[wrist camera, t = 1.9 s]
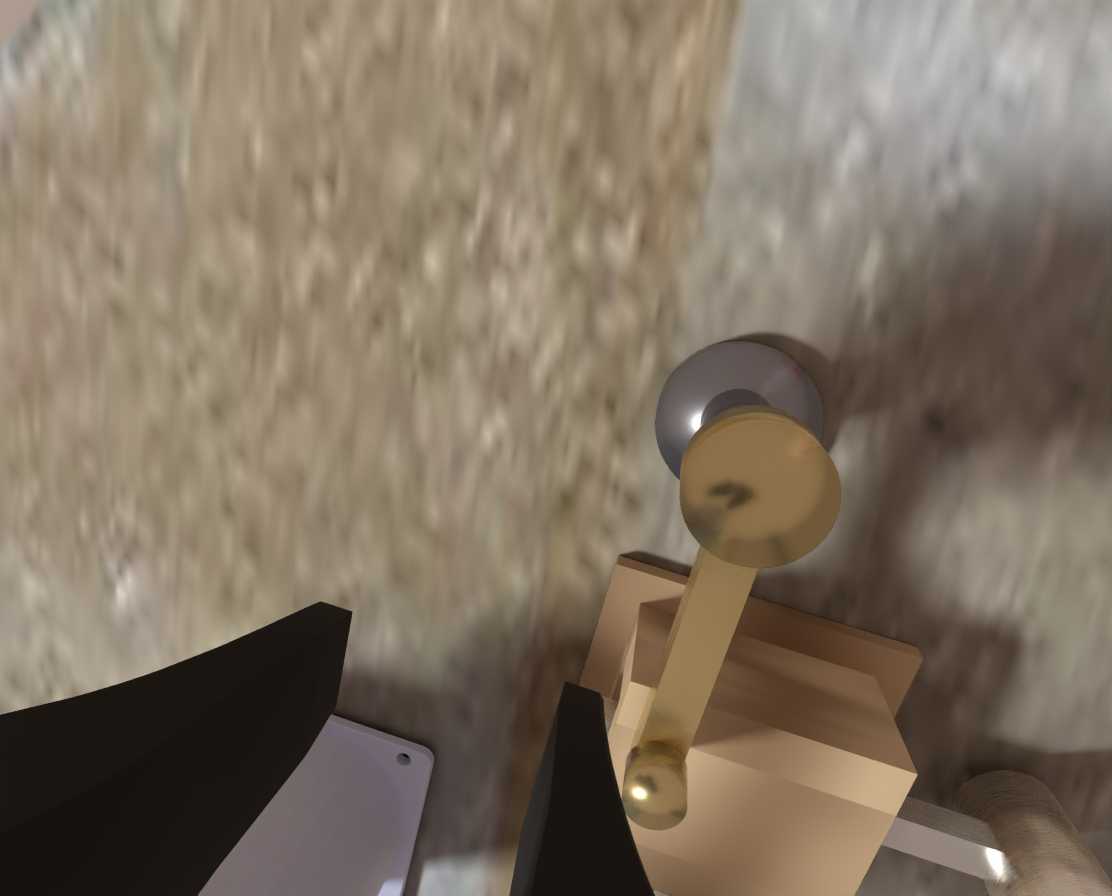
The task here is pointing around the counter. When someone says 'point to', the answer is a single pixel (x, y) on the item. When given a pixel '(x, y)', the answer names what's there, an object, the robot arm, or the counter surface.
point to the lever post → (731, 392)
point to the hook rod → (996, 836)
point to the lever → (724, 578)
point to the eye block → (763, 743)
